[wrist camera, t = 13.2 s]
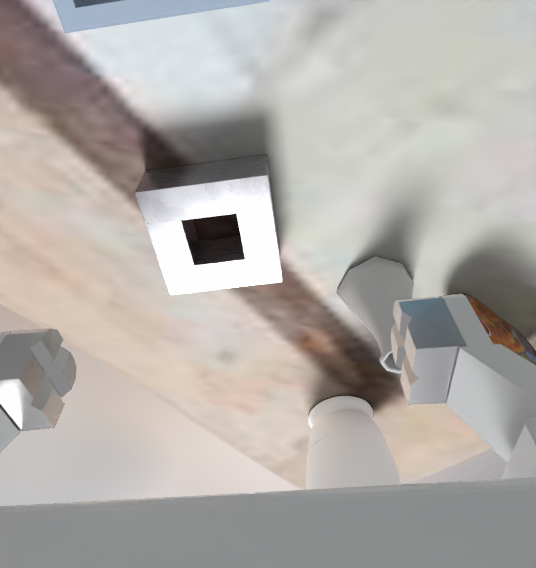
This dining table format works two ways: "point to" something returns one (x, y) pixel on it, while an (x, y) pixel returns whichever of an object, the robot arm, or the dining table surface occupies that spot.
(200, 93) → the dining table surface
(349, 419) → the jar
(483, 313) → the tin
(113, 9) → the tray
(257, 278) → the metal block with hole
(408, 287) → the flask
